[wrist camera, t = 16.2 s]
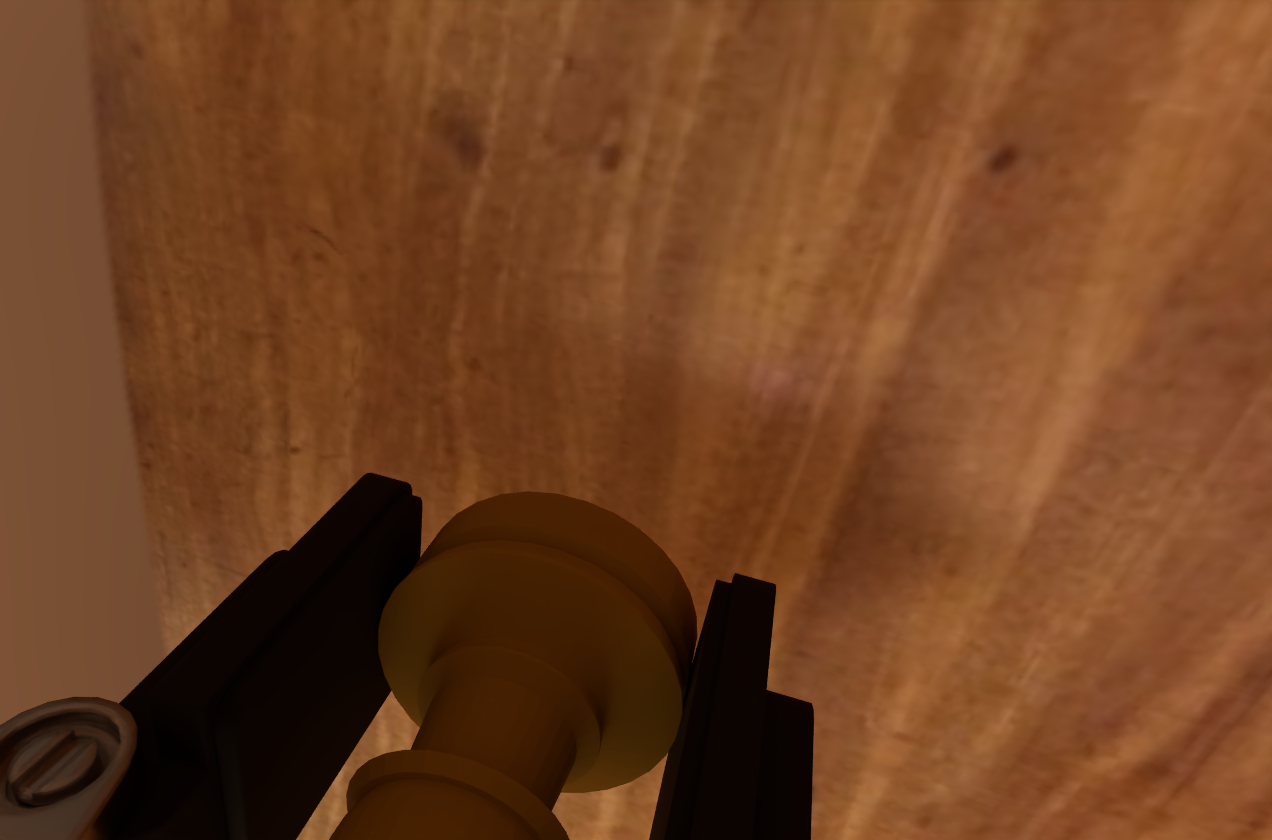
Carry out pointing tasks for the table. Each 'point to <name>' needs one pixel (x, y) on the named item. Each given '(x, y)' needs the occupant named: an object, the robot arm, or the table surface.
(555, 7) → the table surface
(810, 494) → the table surface
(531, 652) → the chess piece
